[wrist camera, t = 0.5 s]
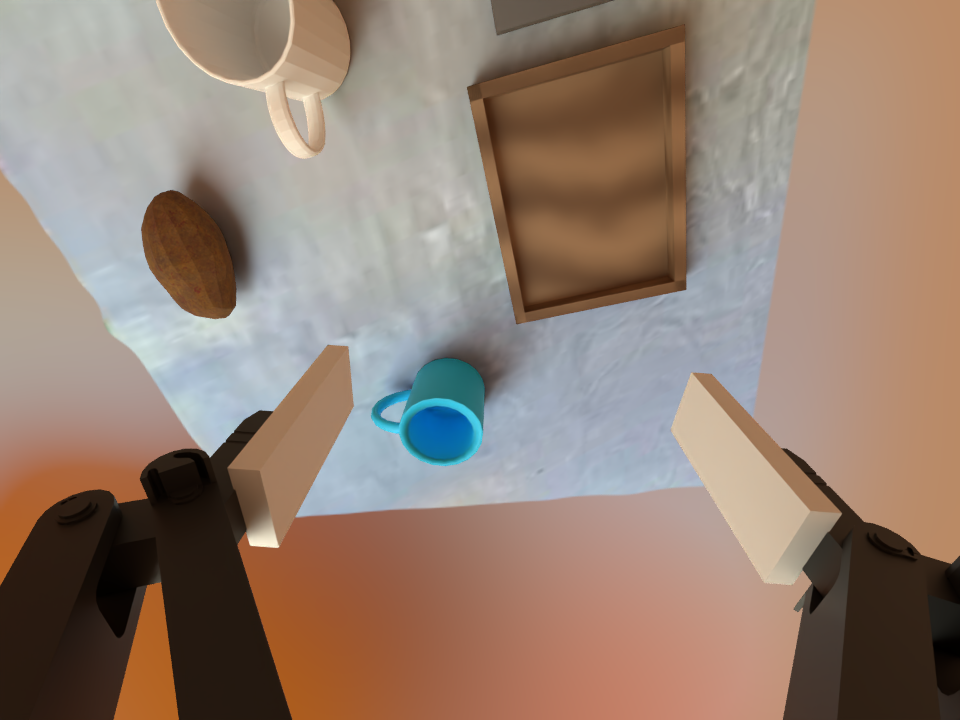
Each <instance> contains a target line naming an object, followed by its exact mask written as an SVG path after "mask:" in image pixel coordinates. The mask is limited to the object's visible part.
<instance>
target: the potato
mask: <svg viewBox="0 0 960 720" xmlns="http://www.w3.org/2000/svg"><path fill="white" fill-rule="evenodd" d="M141 231H142V241H143V247H144V252H145V257H146V260H147V262H148V265H149V268H150V270H151V271H152V273H153V274H154V276H155V277H156V278H157V280H158V281H159V282H160V283H161V285H162V286H163V287H164V288H165V289H166V290H167V292H168V293H169V294H170V295H171V297H172V298H173V299H174V300H175V301H176V303H177V304H178V305H179V306H180V307H181V308H182V309H184V310H185V311H187V312H189V313H191V314H193V315H195V316H199V317H206V318H212V319H219V318H226V317H227V316H229V315H230V314H231V312H232V311H233V309H234V308H235V306H236V282H235V275H234V269H233V264H232V260H231V257H230V254H229V251H228V248H227V245H226V242H225V239H224V237H223V235H222V233H221V231H220V228H219V227H218V226H217V224H216V223H215V222H214V220H213V219H212V218H211V217H210V216H209V215H208V214H207V213H206V212H205V211H204V210H203V209H202V208H201V207H200V206H199V205H198V204H196V203H195V202H194V201H193V200H191V199H189V198H187V197H186V196H184V195H183V194H181V193H180V192H178V191H173V190H170V191H166V192H163V193H160V194H159V195H157V196H155V197H154V199H153V200H152V201H151V203H150V204H149V206H148V207H147V210H146V213H145V216H144V220H143V224H142V228H141Z"/></svg>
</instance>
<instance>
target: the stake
mask: <svg viewBox="0 0 960 720" xmlns="http://www.w3.org/2000/svg"><path fill="white" fill-rule="evenodd" d="M610 1H613V0H491V4H492V10H493V16H494V22H495V27H496V33H497V35H500V34H504V33H507V32H510V31H514V30H517V29H520V28H523V27H527V26H530V25H533V24H537V23H540V22H543V21H547V20H550V19H553V18H557V17H560V16H563V15H567V14H570V13H573V12H576V11H580V10H583V9H586V8H590V7H593V6H596V5H600V4H603V3H606V2H610Z"/></svg>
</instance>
